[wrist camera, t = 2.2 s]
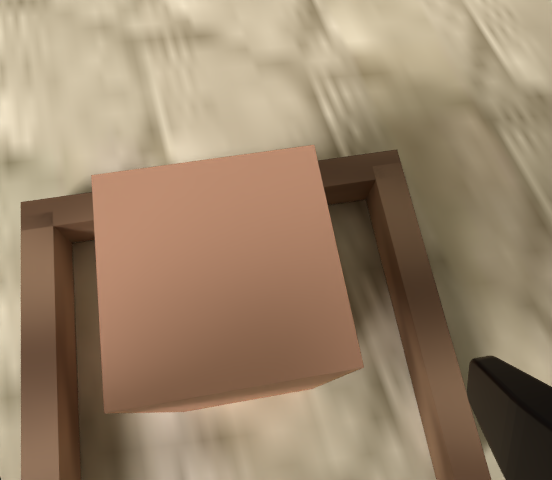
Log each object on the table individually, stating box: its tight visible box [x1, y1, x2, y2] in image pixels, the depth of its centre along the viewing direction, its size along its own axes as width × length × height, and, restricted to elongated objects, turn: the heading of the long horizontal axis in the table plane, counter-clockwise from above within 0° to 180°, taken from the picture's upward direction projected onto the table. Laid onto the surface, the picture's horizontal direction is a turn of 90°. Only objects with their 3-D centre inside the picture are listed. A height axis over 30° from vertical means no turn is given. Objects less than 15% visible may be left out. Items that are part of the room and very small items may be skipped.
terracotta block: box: [91, 145, 364, 413], centre depth 15 cm, size 5×5×10 cm
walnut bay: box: [21, 150, 491, 480], centre depth 19 cm, size 13×15×2 cm
